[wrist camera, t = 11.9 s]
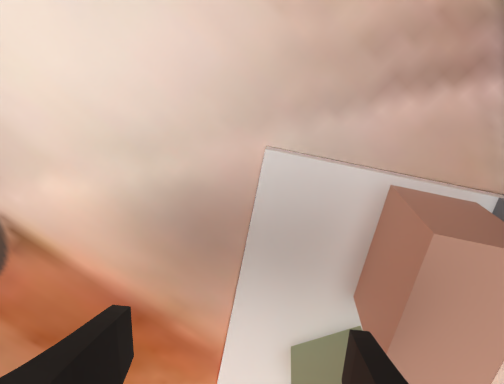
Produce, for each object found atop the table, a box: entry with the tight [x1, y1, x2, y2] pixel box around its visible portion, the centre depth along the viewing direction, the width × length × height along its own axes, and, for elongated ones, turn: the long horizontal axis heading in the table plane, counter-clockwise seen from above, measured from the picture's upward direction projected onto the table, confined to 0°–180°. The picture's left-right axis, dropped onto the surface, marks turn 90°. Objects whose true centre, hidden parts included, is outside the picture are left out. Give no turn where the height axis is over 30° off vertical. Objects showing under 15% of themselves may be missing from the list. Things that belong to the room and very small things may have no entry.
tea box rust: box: [353, 185, 504, 384], centre depth 17 cm, size 5×7×6 cm
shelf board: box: [217, 146, 504, 384], centre depth 22 cm, size 13×22×2 cm, turn 169°
